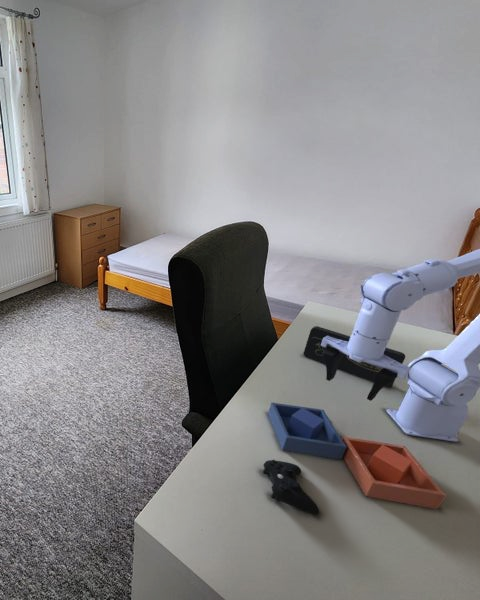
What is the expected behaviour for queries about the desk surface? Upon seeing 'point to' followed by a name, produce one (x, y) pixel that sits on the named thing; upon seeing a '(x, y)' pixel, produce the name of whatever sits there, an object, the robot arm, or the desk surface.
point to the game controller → (288, 486)
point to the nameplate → (345, 364)
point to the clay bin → (410, 489)
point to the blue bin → (321, 446)
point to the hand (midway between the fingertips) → (349, 388)
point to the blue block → (305, 424)
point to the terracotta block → (388, 465)
